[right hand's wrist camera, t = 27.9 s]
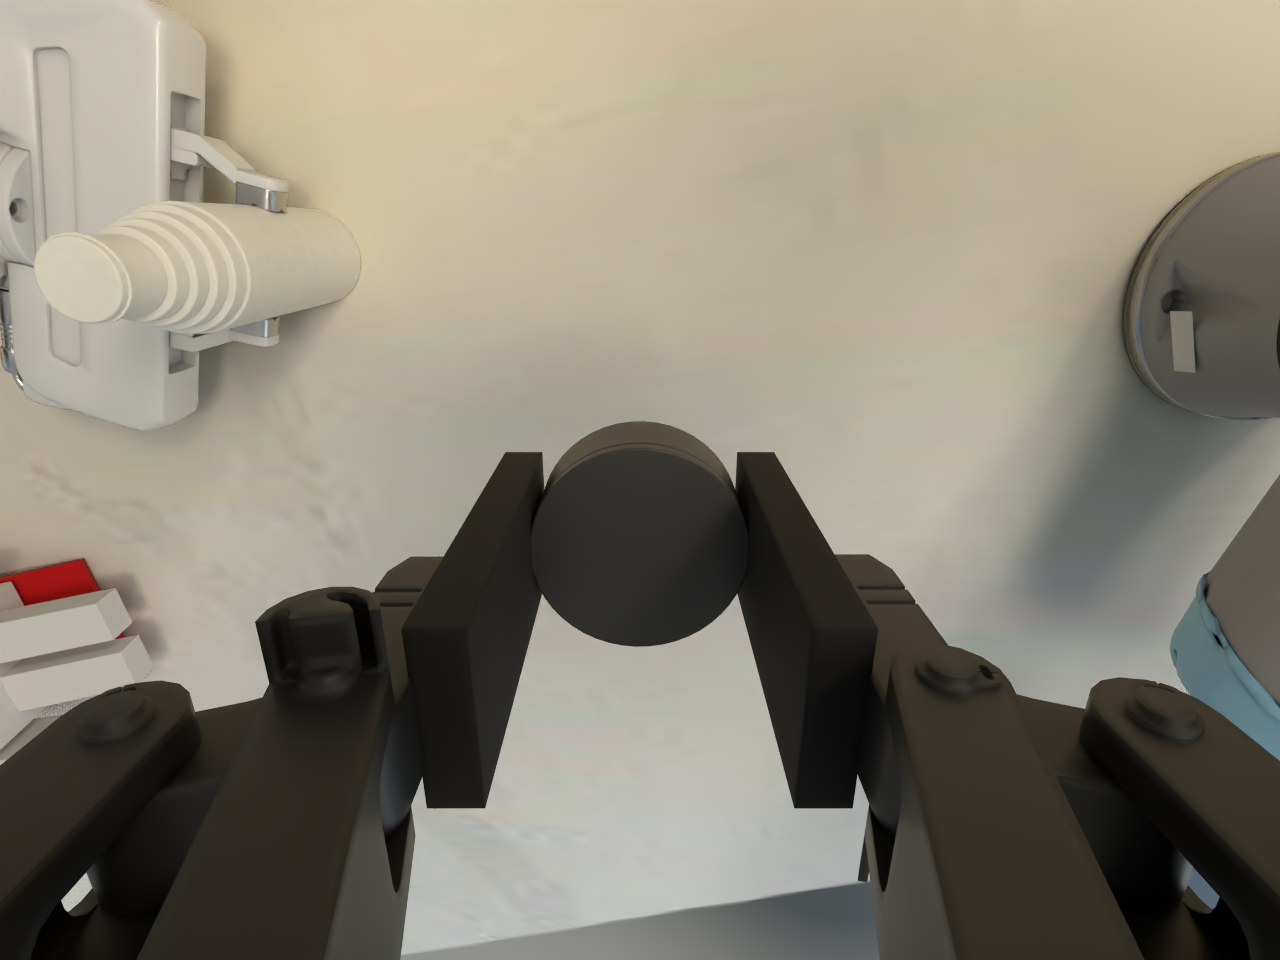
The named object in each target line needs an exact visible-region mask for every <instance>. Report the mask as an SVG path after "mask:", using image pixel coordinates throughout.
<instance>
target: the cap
mask: <svg viewBox="0 0 1280 960" xmlns="http://www.w3.org/2000/svg"><path fill="white" fill-rule="evenodd" d="M748 540H749V530H748V527H747V523H746V519H745V516H744V513H743V510H742V508H741V505H740V502H739V499H738V497H737V494H736V491H735V488H734V485H733V483H732V481H731V478H730V476H729V473H728V472H727V470H726V468H725V467H724V465H723V463H722V462H721V461H720V460H719V458H718V457H717V456H716V455H715V453H714V452H713V451H712V450H710V449H709V448H708V447H707V446H706V445H705V444H704V443H702V442H701V441H700V440H698V439H697V438H695V437H694V436H692V435H690V434H688V433H686V432H684V431H683V430H680V429H677V428H675V427H672V426H669V425H664V424H660V423H654V422H644V421H643V422H626V423H619V424H615V425H611V426H608V427H604V428H602V429H600V430H597V431H595V432H593V433H591V434H589V435H587V436H586V437H584V438H582V439H581V440H580V441H578V442H577V443H576V444H574V445H573V446H572V447H571V448H570V449H569V450H568V451H567V452H566V453H565V454H564V455H563V456H562V457H561V459H560V460H559V461H558V463H557V464H556V466H555V467H554V469H553V471H552V473H551V475H550V476H549V479H548V481H547V484H546V487H545V490H544V492H543V495H542V498H541V501H540V503H539V506H538V509H537V512H536V514H535V517H534V520H533V523H532V528H531V548H532V564H533V574H534V577H535V579H536V582H537V584H538V587H539V588H540V590H541V592H542V594H543V595H544V597H545V599H546V600H547V601H548V603H549V604H550V605H551V607H552V608H553V609H554V610H555V611H556V612H557V613H558V614H559V615H560V616H561V617H562V618H563V619H564V620H566V621H567V622H568V623H569V624H571V625H572V626H573V627H575V628H577V629H578V630H580V631H582V632H583V633H585V634H587V635H590V636H592V637H594V638H596V639H599V640H602V641H605V642H609V643H613V644H618V645H625V646H654V645H662V644H666V643H670V642H674V641H677V640H680V639H683V638H685V637H688V636H690V635H692V634H694V633H696V632H698V631H700V630H701V629H703V628H704V627H706V626H707V625H709V624H710V623H711V622H713V621H714V620H715V619H716V618H717V617H718V616H719V615H721V614H722V613H723V611H724V610H725V609H726V608H727V607H728V606H729V605H730V603H731V602H732V600H733V599H734V597H735V596H736V594H737V593H738V591H739V589H740V587H741V585H742V583H743V580H744V577H745V574H746V571H747V557H748Z"/></svg>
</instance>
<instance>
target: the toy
mask: <svg viewBox="0 0 1280 960" xmlns="http://www.w3.org/2000/svg"><path fill="white" fill-rule="evenodd" d="M131 623H133V622H132V620H131V618H130V616H129V614H128V612H127V610H126V608H125V606H124V604H123V602H122V600H121V598H120V596H119V594H118V592H117V590H116V588H111V589H106V590H102V591H100V590H99V588H98V586H97V584H96V582H95V580H94V579H93V577H92V575H91V573H90V571H89V569H88V567H87V565H86V563H85V562H84V560H83V559H79V560H75V561H70V562H66V563H62V564H57V565H53V566H48V567H44V568H40V569H35V570H31V571H26V572H22V573H18V574H13V575H9V576H4V577H0V765H1V764H2V763H4V762H5V761H6V760H7V759H8V758H10V757H11V756H12V755H13V754H15V753H16V752H17V751H18V750H20V749H21V748H22V747H23V746H24V745H26V744H27V743H28V742H29V741H31V740H32V739H33V738H34V737H36V736H37V735H38V734H39V733H41V732H42V731H43V730H44V729H45V728H47V727H48V726H49V725H50V724H52V723H53V722H54V721H55V720H57V719H58V718H59V717H61V716H62V715H60V716H52V717H45V718H37V719H34V718H35V717H36V716H37V715H38V714H39V713H40V712H41V711H42V710H44V709H45V708H46V707H47V706H48V705H53V704H58V703H62V702H67V701H72V700H76V699H81V698H86V697H91V696H95V695H100V694H102V693H104V692H105V691H107V690H110V689H113V688H117V687H120V686H121V687H124V685H128V684H133V683H141V682H142V681H143V680H144V679H145V678H146V676H147V675H148V674H149V673H150V672H151V671H152V670H153V669H154V668H155V667H154V665H153V663H152V661H151V659H150V657H149V655H148V653H147V651H146V649H145V647H144V645H143V643H142V641H141V639H140V637H139V635H134V636H130V637H124V635H123V633H122V632H123V631H124V630H125V629H126V628H127V627H128V626H129V625H130V624H131Z"/></svg>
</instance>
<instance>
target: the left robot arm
mask: <svg viewBox="0 0 1280 960" xmlns="http://www.w3.org/2000/svg"><path fill="white" fill-rule="evenodd" d="M205 83H206V42H205V40H204V38H203V37H202V35H201V34H200V33H199V32H198V31H197V29H196V28H195V27H194V26H193V25H192V24H191V23H190V21H189V20H188V19H187V18H186V17H185V16H183V15H182V14H180V13H178V12H176V11H174V10H172V9H170V8H168V7H166V6H164V5H161V4H159V3H156V2H154V1H151V0H0V330H1V337H2V346H1V348H0V356H1V361H2V365H3V368H4V370H5V371H7V372H10V373H12V375H13V378H14V380H15V382H16V383H17V385H18V386H19V388H20V389H21V390H22V391H23V393H24V395H25V396H26V397H27V398H28V399H30V400H32V401H34V402H36V403H39V404H44V405H48V406H52V407H57V408H61V409H68V410H75V411H78V412H80V413H83V414H86V415H89V416H92V417H94V418H97V419H100V420H103V421H107V422H110V423H113V424H116V425H120V426H123V427H127V428H130V429H135V430H139V431H152V430H157V429H160V428H163V427H166V426H168V425H171V424H173V423H175V422H177V421H179V420H181V419H182V418H184V417H186V416H188V415H189V414H191V413H192V412H194V411H195V410H196V408H197V406H198V384H199V351H201V350H204V349H208V348H211V347H215V346H218V345H222V344H225V343H228V342H232V341H238V342H242V343H247V344H251V345H255V346H261V347H269V346H272V345H275V344H278V343H279V331H280V316H277V317H273V318H269V319H265V320H261V321H257V322H253V323H249V324H245V325H241V326H237V327H233V328H229V329H226V330H222V331H218V332H213V333H208V334H193V333H192V334H183V333H176V332H171V331H168V330H165V329H160V328H157V327H153V326H150V325H145V324H142V323H138V322H135V321H130V320H126V319H123V318H122V319H119V320H118V321H115V322H112V323H109V324H92V323H83V322H79V321H76V320H73V319H70V318H68V317H66V316H65V315H63V314H61V313H60V312H58V311H57V310H56V309H53V308H52V307H51V306H50V305H49V304H48V303H47V302H46V301H45V300H44V297H43V296H42V294H41V292H40V291H39V289H38V285H37V283H36V280H35V277H34V264H33V263H34V261H35V256H36V252H37V251H38V249H39V248H40V246H41V244H42V243H43V242H45V241H46V240H47V239H48V238H50V237H51V236H54V235H57V234H60V233H63V232H79V233H82V234H86V235H93V234H94V233H96V232H97V231H99V230H101V229H103V228H105V227H106V226H107V225H109V224H111V223H112V222H115V221H116V220H118V219H119V218H121V217H122V216H124V215H126V214H127V213H129V212H130V211H132V210H133V209H136V208H138V207H141V206H145V205H149V204H153V203H157V202H162V201H183V202H202V203H203V170H204V167H206V168H214V169H217V170H219V171H220V172H221V173H222V174H223V175H225V176H226V177H227V178H228V179H229V180H231V181H232V182H233V183H234V184H236V202H237V203H241V204H244V205H250V206H257V207H258V208H261V209H264V210H268V211H274V212H280V211H281V212H287V203H288V192H289V182H287V181H285V180H281V179H277V178H273V177H270V176H266V175H262V174H258V173H256V170H255V169H254V168H253V167H252V166H251V165H250V164H249V163H248V162H247V161H245V160H244V159H243V158H242V157H241V156H240V155H239V154H238V153H237V152H236V151H235V150H233V149H232V148H231V147H230V146H229V145H228V144H227V143H226V142H225V141H224V140H220V139H216V138H212V137H209V136H205V135H204V127H205Z"/></svg>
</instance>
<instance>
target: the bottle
mask: <svg viewBox="0 0 1280 960" xmlns="http://www.w3.org/2000/svg"><path fill="white" fill-rule="evenodd" d="M33 264H34V277H35V280H36V283H37V285H38V289H39V291H40V292H41V294H42V296H43V297H44V300H45V301H46V302H47V303H48V304H49V305H50V306H51V307H52V308H53V309H56V310H57V311H58V312H60V313H61V314H63V315H65V316H66V317H68V318H70V319H73V320H76V321H79V322H83V323H92V324H109V323H112V322H115V321H118V320H119V319H122V318H123V319H126V320H130V321H135V322H138V323H142V324H145V325H150V326H153V327H157V328H160V329H165V330H168V331H171V332H176V333H183V334H192V333H193V334H208V333H213V332H218V331H222V330H226V329H229V328H233V327H237V326H241V325H245V324H249V323H253V322H257V321H261V320H265V319H269V318H273V317H277V316H281V315H285V314H289V313H292V312H296V311H300V310H304V309H308V308H312V307H316V306H320V305H324V304H328V303H332V302H335V301H338V300H340V299H342V298H344V297H345V296H346V295H348V294H349V293H350V292H351V291H352V289H353V288H354V286H355V285H356V283H357V281H358V278H359V275H360V269H361V258H360V252H359V249H358V246H357V243H356V241H355V239H354V237H353V235H352V234H351V232H350V231H349V230H348V228H347V227H346V226H345V225H344V224H343V223H342V222H341V221H340V220H338V219H337V218H336V217H334V216H333V215H331V214H329V213H327V212H325V211H322V210H319V209H313V208H297V207H287V212H281V211H280V212H274V211H268V210H264V209H261V208H258V207H257V206H250V205H240V204H221V203H202V202H183V201H162V202H157V203H153V204H149V205H145V206H141V207H138V208H136V209H133V210H132V211H130V212H129V213H127V214H126V215H124V216H122V217H121V218H119V219H118V220H116V221H115V222H112V223H111V224H109V225H107V226H106V227H105V228H103V229H101V230H99V231H97V232H96V233H94V234H93V235H86V234H82V233H79V232H63V233H60V234H57V235H54V236H51V237H50V238H48V239H47V240H46V241H45V242H43V243H42V244H41V246H40V248H39V249H38V251H37V252H36V256H35V261H34V263H33Z"/></svg>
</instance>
